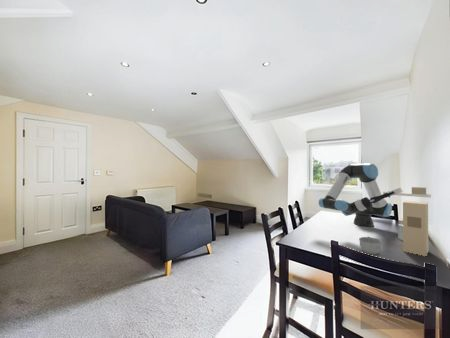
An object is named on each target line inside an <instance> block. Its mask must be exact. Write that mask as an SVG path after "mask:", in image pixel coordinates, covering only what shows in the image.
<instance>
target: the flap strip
mask: <svg viewBox="0 0 450 338" xmlns="http://www.w3.org/2000/svg"><path fill="white" fill-rule="evenodd" d="M387 192H388V191H383V192H382V193H383V194H385V193H387ZM383 194H382V195H383ZM394 196H404V197H416V198H431V197H432V194H429V193H428V194H427V187H421V186H419V187H418V186H412V187H411V192H400V193H397V194H395V195H394Z"/></svg>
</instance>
